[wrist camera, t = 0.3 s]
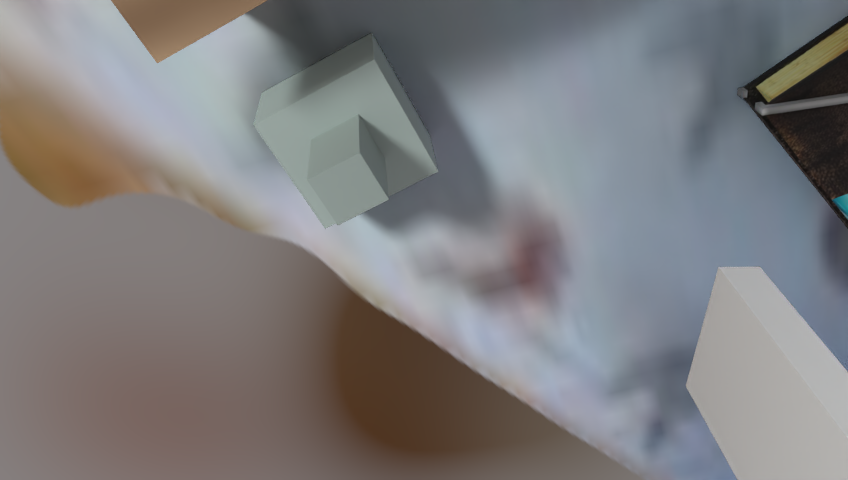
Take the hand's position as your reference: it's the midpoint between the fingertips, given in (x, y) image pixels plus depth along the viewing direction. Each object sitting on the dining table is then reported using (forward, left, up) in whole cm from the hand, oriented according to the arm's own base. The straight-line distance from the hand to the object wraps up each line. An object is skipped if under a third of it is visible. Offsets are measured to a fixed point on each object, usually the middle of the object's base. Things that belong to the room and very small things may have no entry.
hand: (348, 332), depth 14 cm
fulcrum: (+5, -3, -25) cm, 26 cm away
